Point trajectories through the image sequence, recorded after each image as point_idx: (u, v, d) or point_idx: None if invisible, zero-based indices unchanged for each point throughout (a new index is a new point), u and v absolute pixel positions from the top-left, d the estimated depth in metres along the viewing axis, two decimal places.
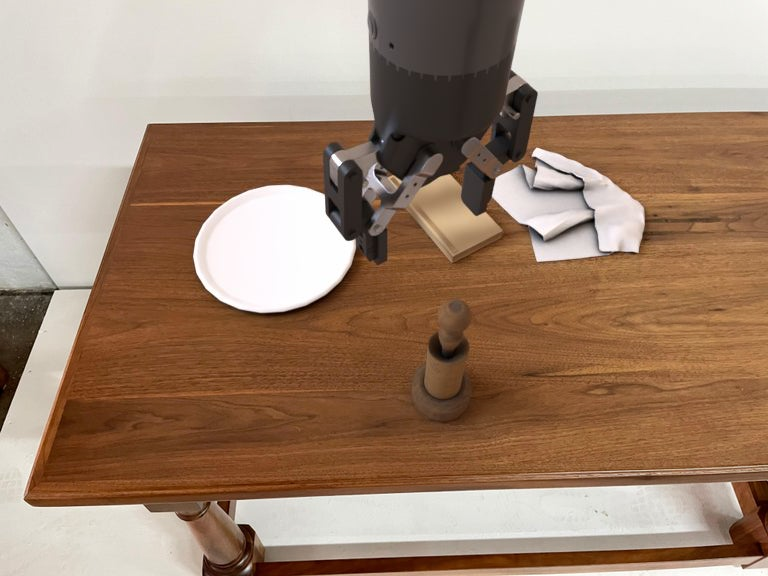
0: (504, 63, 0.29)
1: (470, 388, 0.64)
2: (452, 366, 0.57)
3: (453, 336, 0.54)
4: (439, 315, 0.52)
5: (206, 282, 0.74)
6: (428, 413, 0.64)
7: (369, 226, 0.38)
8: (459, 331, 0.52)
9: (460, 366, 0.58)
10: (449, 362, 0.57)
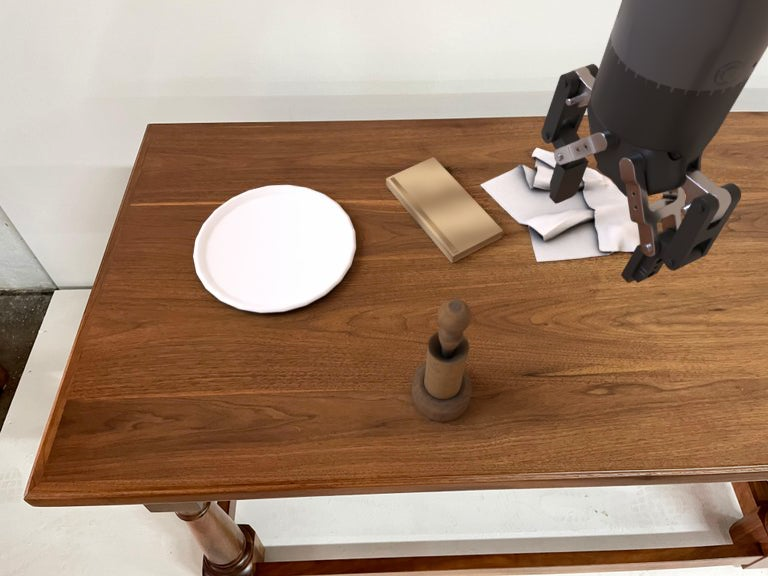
0: None
1: (470, 388, 0.64)
2: (452, 366, 0.57)
3: (453, 336, 0.54)
4: (439, 315, 0.52)
5: (206, 282, 0.74)
6: (428, 413, 0.64)
7: None
8: (459, 331, 0.52)
9: (460, 366, 0.58)
10: (449, 362, 0.57)
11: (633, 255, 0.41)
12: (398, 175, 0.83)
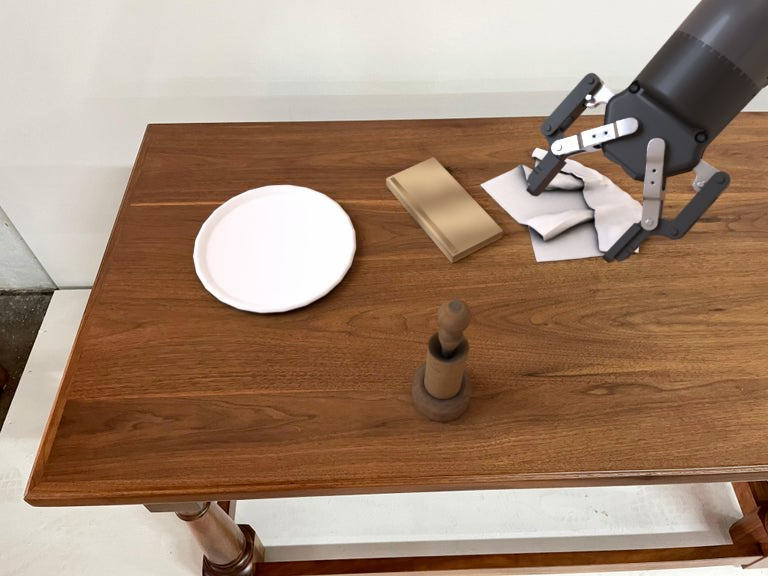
0: (724, 63, 0.41)
1: (470, 388, 0.64)
2: (452, 366, 0.57)
3: (453, 336, 0.54)
4: (439, 315, 0.52)
5: (206, 282, 0.74)
6: (428, 413, 0.64)
7: None
8: (459, 331, 0.52)
9: (460, 366, 0.58)
10: (449, 362, 0.57)
11: (558, 170, 0.52)
12: (398, 175, 0.83)
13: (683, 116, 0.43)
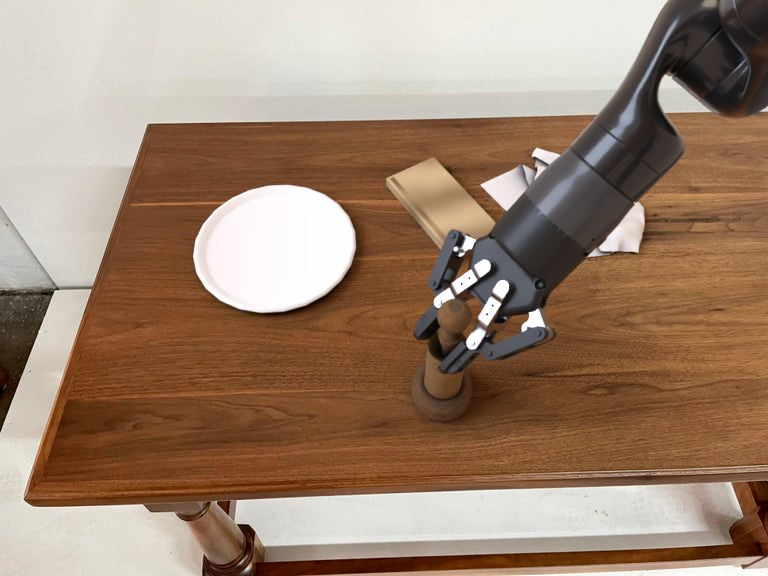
0: (550, 225, 0.47)
1: (470, 388, 0.64)
2: None
3: (453, 336, 0.54)
4: (439, 315, 0.52)
5: (206, 282, 0.74)
6: (428, 413, 0.64)
7: None
8: (459, 331, 0.52)
9: None
10: None
11: None
12: (398, 175, 0.83)
13: (519, 265, 0.49)
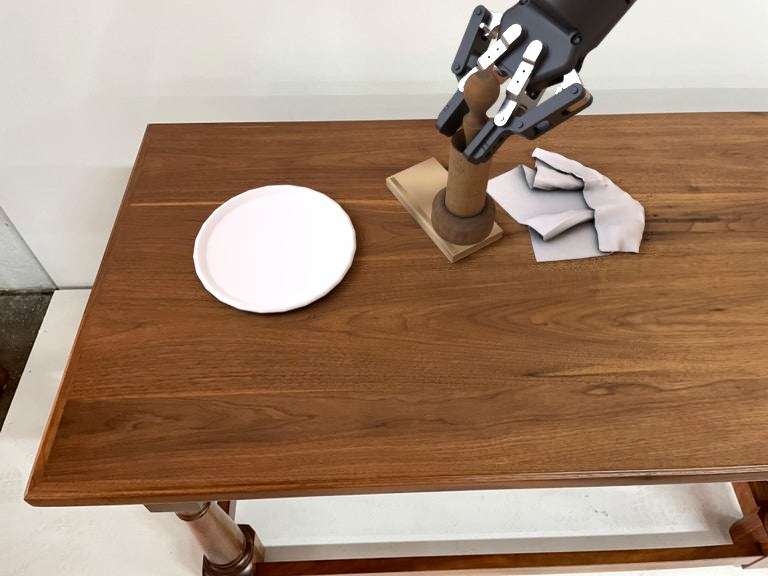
0: None
1: (494, 209, 0.61)
2: None
3: (479, 118, 0.51)
4: (465, 86, 0.48)
5: (206, 282, 0.74)
6: (449, 234, 0.60)
7: None
8: (487, 103, 0.48)
9: (486, 163, 0.54)
10: None
11: None
12: (398, 175, 0.83)
13: (554, 14, 0.45)
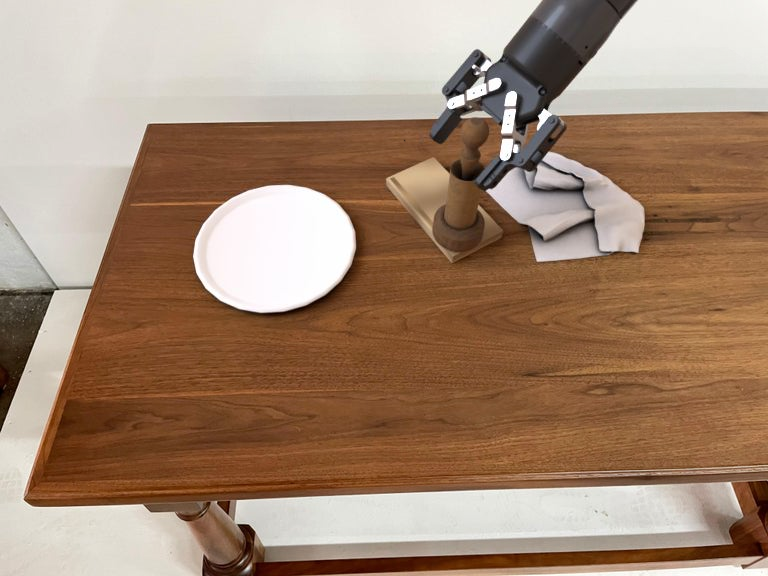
0: (550, 33, 0.57)
1: (483, 223, 0.75)
2: (471, 185, 0.68)
3: (473, 153, 0.65)
4: (462, 129, 0.63)
5: (206, 282, 0.74)
6: (447, 242, 0.75)
7: None
8: (479, 142, 0.63)
9: (477, 187, 0.69)
10: (468, 181, 0.68)
11: (456, 125, 0.68)
12: (398, 175, 0.83)
13: (525, 72, 0.59)
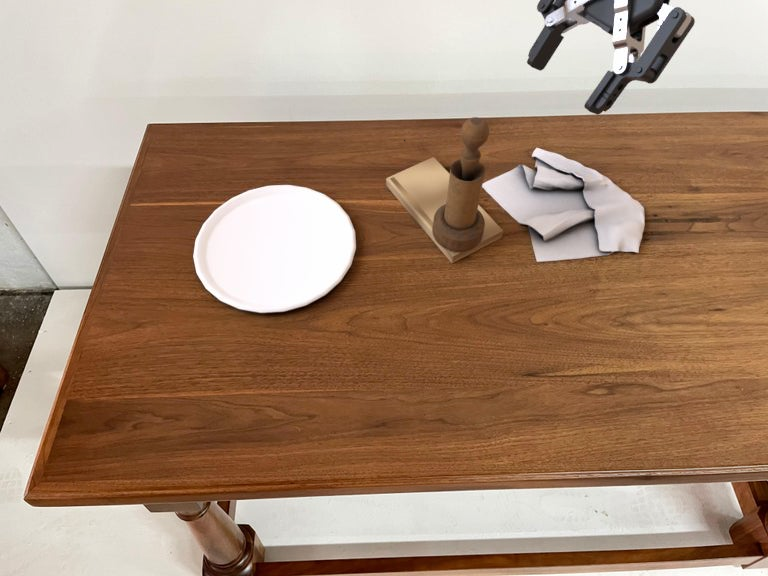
0: None
1: (483, 223, 0.75)
2: (471, 185, 0.68)
3: (473, 153, 0.65)
4: (462, 129, 0.63)
5: (206, 282, 0.74)
6: (447, 242, 0.75)
7: None
8: (479, 142, 0.63)
9: (477, 187, 0.69)
10: (468, 181, 0.68)
11: (557, 45, 0.60)
12: (398, 175, 0.83)
13: None
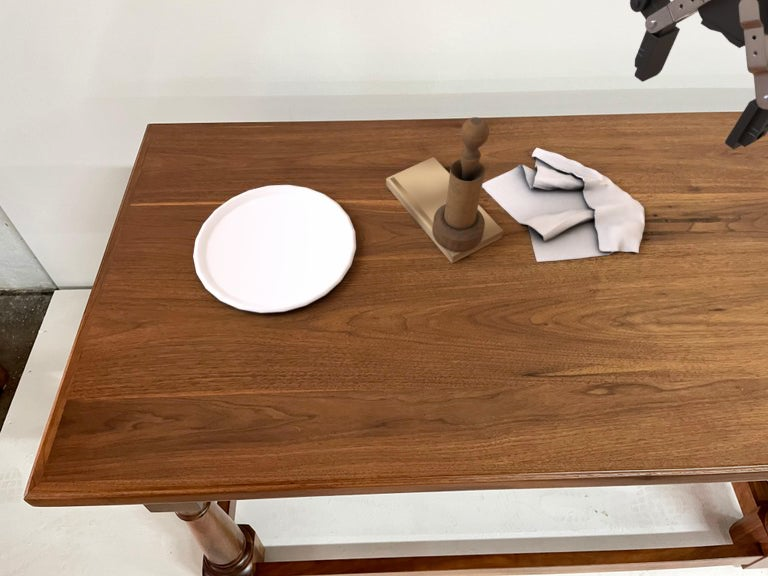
0: None
1: (483, 223, 0.75)
2: (471, 185, 0.68)
3: (473, 153, 0.65)
4: (462, 129, 0.63)
5: (206, 282, 0.74)
6: (447, 242, 0.75)
7: None
8: (479, 142, 0.63)
9: (477, 187, 0.69)
10: (468, 181, 0.68)
11: None
12: (398, 175, 0.83)
13: None
